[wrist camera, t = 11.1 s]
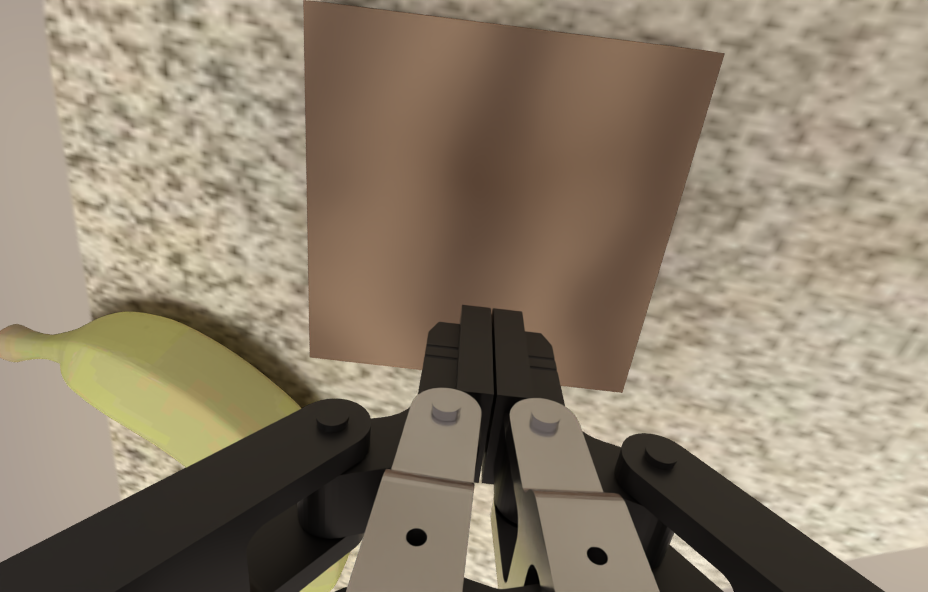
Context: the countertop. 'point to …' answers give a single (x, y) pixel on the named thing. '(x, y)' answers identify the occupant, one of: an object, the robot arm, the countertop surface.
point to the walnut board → (490, 182)
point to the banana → (163, 386)
